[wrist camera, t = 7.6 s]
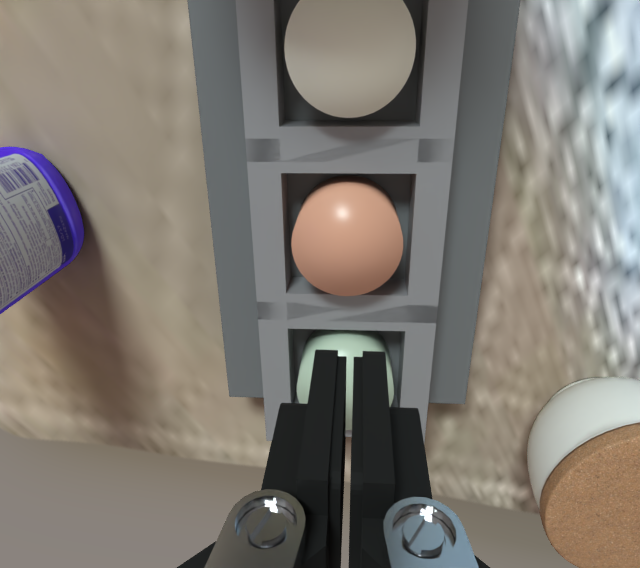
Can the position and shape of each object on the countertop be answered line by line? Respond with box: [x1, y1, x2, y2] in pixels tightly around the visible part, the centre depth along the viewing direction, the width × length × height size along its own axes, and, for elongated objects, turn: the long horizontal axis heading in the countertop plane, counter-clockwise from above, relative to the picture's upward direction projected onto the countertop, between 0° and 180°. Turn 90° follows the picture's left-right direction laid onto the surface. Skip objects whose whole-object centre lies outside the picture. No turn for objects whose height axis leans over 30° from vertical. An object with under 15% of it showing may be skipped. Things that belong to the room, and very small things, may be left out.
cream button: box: [284, 0, 416, 118], centre depth 21 cm, size 5×5×3 cm
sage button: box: [297, 329, 394, 430], centre depth 28 cm, size 5×5×3 cm
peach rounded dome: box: [291, 175, 403, 296], centre depth 24 cm, size 5×5×3 cm
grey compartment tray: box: [188, 0, 520, 441], centre depth 26 cm, size 14×25×5 cm, turn 1°
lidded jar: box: [527, 377, 640, 568], centre depth 29 cm, size 11×11×9 cm
